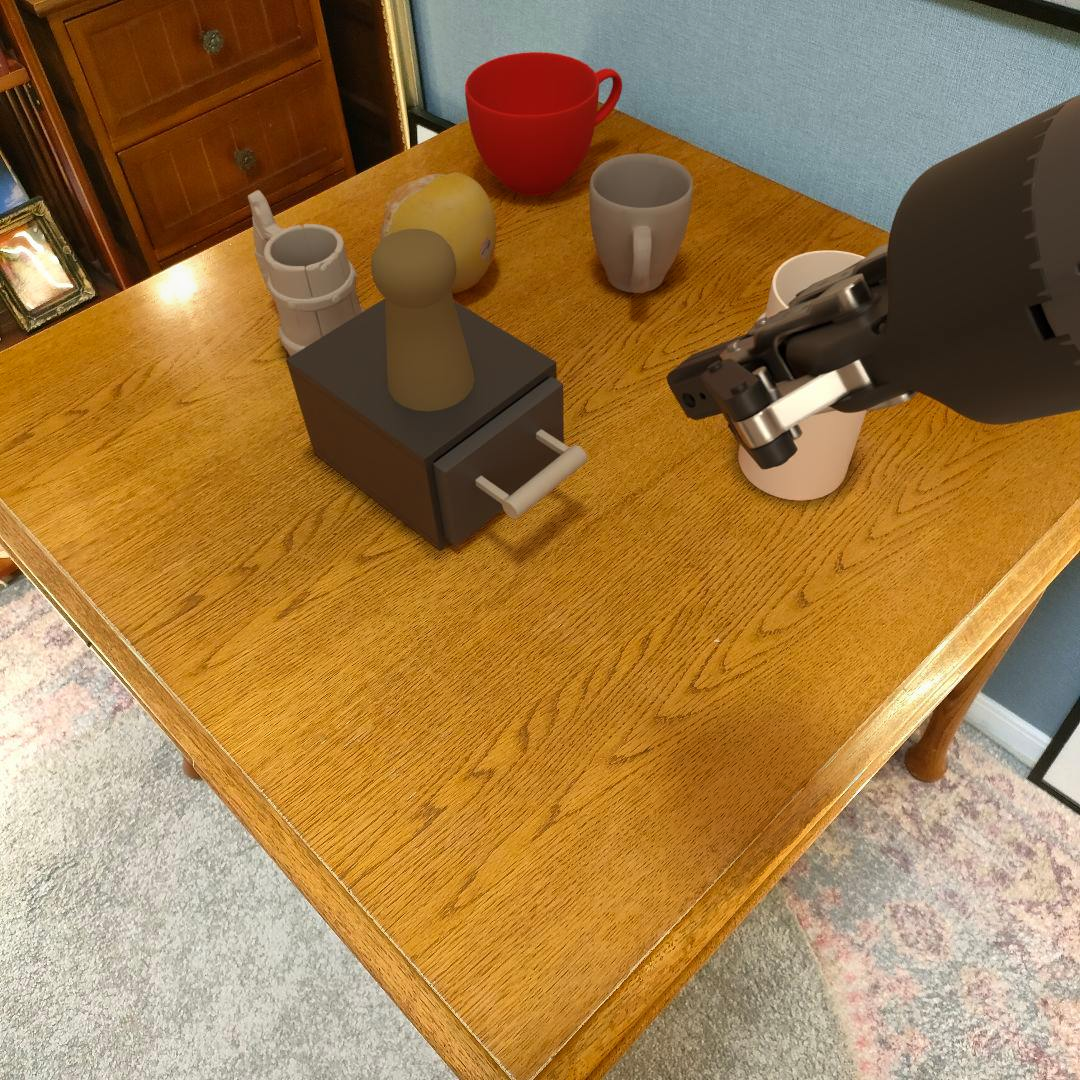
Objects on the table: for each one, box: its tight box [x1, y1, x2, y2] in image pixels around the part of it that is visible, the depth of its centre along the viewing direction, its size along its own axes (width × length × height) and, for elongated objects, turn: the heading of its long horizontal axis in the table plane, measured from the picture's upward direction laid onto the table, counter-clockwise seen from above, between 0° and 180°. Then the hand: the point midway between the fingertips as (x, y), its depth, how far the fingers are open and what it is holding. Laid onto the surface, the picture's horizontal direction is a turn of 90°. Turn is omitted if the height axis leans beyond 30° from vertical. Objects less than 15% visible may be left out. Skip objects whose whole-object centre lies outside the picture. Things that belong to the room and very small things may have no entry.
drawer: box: [433, 377, 588, 547], centre depth 69 cm, size 18×11×8 cm, turn 47°
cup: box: [737, 249, 868, 501], centre depth 67 cm, size 8×8×16 cm
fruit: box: [379, 171, 498, 295], centre depth 85 cm, size 10×11×10 cm
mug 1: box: [247, 189, 365, 357], centre depth 80 cm, size 8×12×12 cm, turn 45°
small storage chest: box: [285, 298, 558, 551], centre depth 71 cm, size 15×13×10 cm
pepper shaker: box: [370, 229, 475, 411], centre depth 61 cm, size 6×6×11 cm
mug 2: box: [588, 153, 694, 294], centre depth 84 cm, size 12×9×10 cm
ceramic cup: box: [464, 51, 623, 197], centre depth 96 cm, size 13×17×10 cm
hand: (687, 389), depth 38 cm, fingers closed
